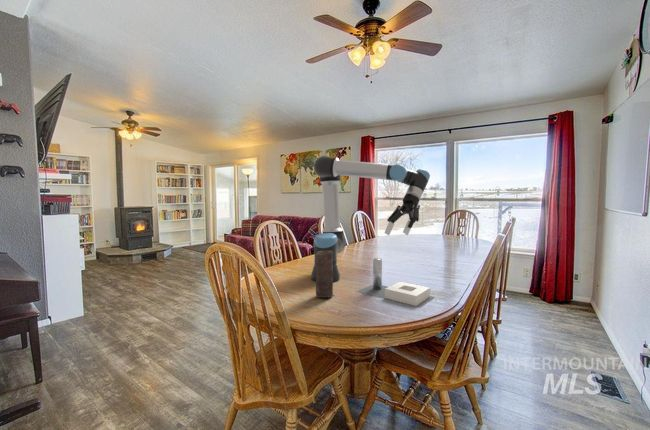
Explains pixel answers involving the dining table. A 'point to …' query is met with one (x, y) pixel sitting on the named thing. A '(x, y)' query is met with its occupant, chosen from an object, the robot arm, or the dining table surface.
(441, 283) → the dining table surface
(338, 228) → the robot arm
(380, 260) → the pin
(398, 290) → the hole block
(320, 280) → the candle
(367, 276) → the dining table surface
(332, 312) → the dining table surface
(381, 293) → the mat
